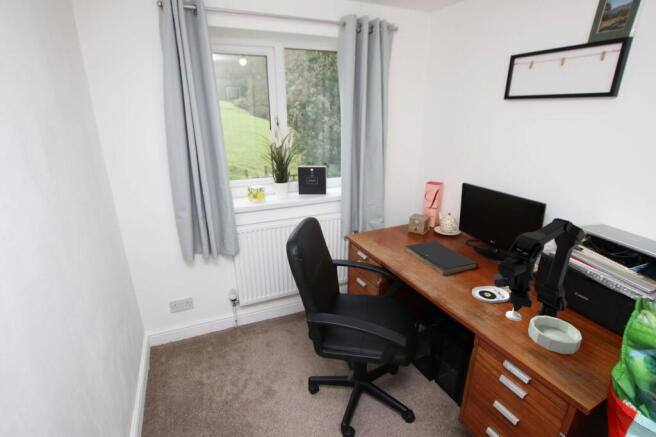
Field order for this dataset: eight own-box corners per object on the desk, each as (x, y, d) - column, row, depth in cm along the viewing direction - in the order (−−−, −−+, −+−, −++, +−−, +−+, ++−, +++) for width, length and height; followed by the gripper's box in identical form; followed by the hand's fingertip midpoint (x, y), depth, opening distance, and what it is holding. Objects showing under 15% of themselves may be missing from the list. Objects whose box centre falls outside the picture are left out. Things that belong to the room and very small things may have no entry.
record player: (524, 294, 137) (482, 298, 135) (523, 300, 138) (481, 305, 136) (506, 281, 148) (467, 285, 146) (505, 287, 149) (466, 290, 147)
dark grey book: (404, 245, 187) (436, 240, 196) (404, 251, 189) (436, 246, 197) (442, 269, 158) (478, 261, 167) (441, 276, 160) (477, 268, 168)
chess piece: (516, 312, 114) (521, 288, 111) (524, 320, 110) (530, 296, 107) (502, 312, 114) (507, 289, 111) (510, 321, 110) (516, 297, 106)
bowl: (527, 321, 124) (529, 311, 122) (573, 332, 117) (576, 322, 116) (530, 344, 111) (532, 334, 110) (582, 359, 105) (585, 348, 103)
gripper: (497, 255, 117) (490, 291, 122) (496, 277, 102) (489, 317, 107) (531, 261, 112) (523, 298, 118) (536, 285, 97) (527, 327, 102)
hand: (515, 309), depth 111 cm, fingers closed on chess piece
